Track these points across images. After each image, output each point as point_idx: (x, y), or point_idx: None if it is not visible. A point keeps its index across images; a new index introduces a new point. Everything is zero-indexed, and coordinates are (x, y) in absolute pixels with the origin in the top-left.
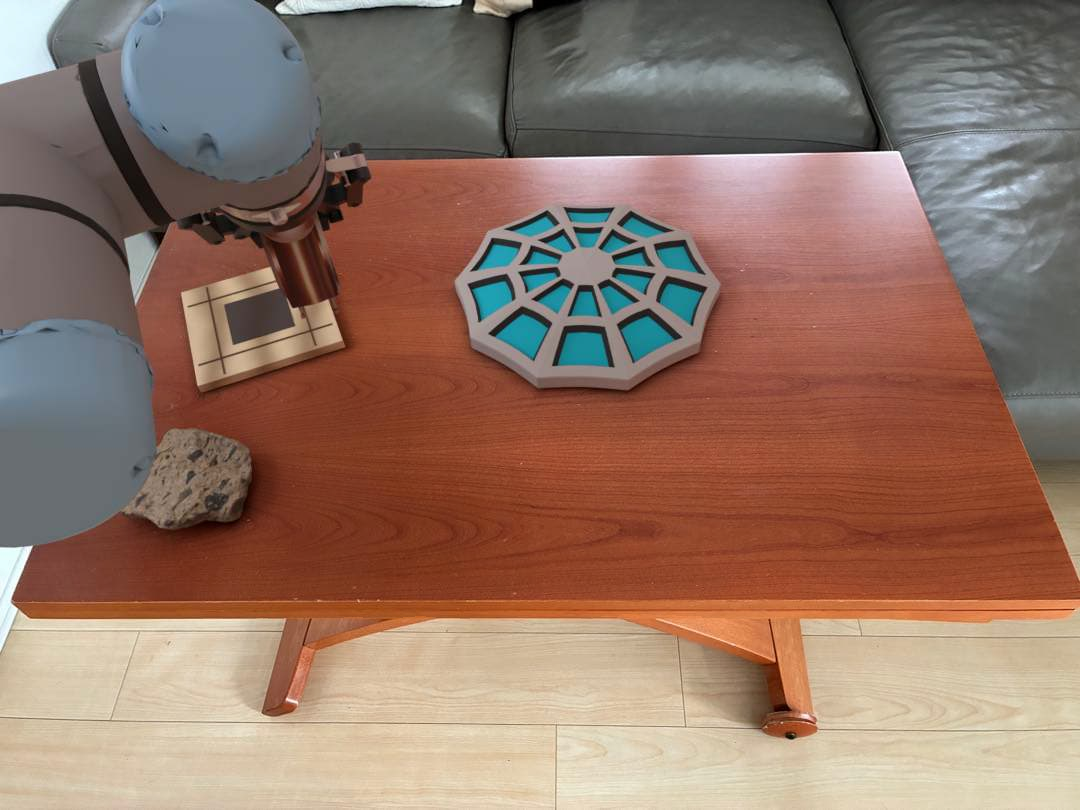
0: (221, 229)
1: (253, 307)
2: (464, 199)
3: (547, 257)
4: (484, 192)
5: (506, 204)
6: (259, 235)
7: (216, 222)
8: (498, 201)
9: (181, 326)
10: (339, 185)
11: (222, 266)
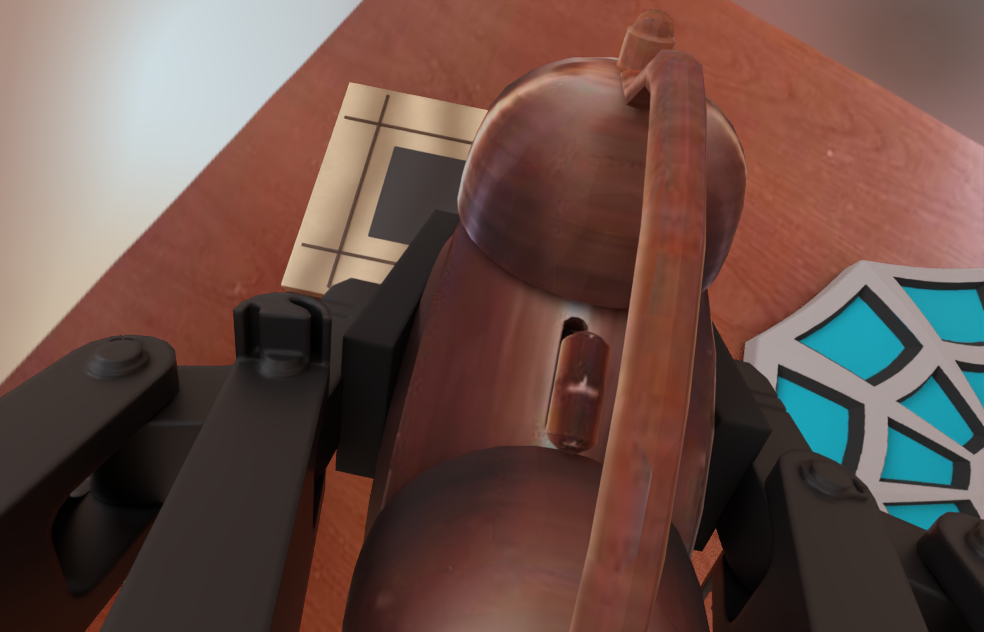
0: (161, 489)
1: (431, 179)
2: (843, 149)
3: (953, 411)
4: (881, 154)
5: (905, 201)
6: (368, 509)
7: (51, 588)
8: (895, 187)
9: (324, 141)
10: (923, 604)
11: (432, 61)
